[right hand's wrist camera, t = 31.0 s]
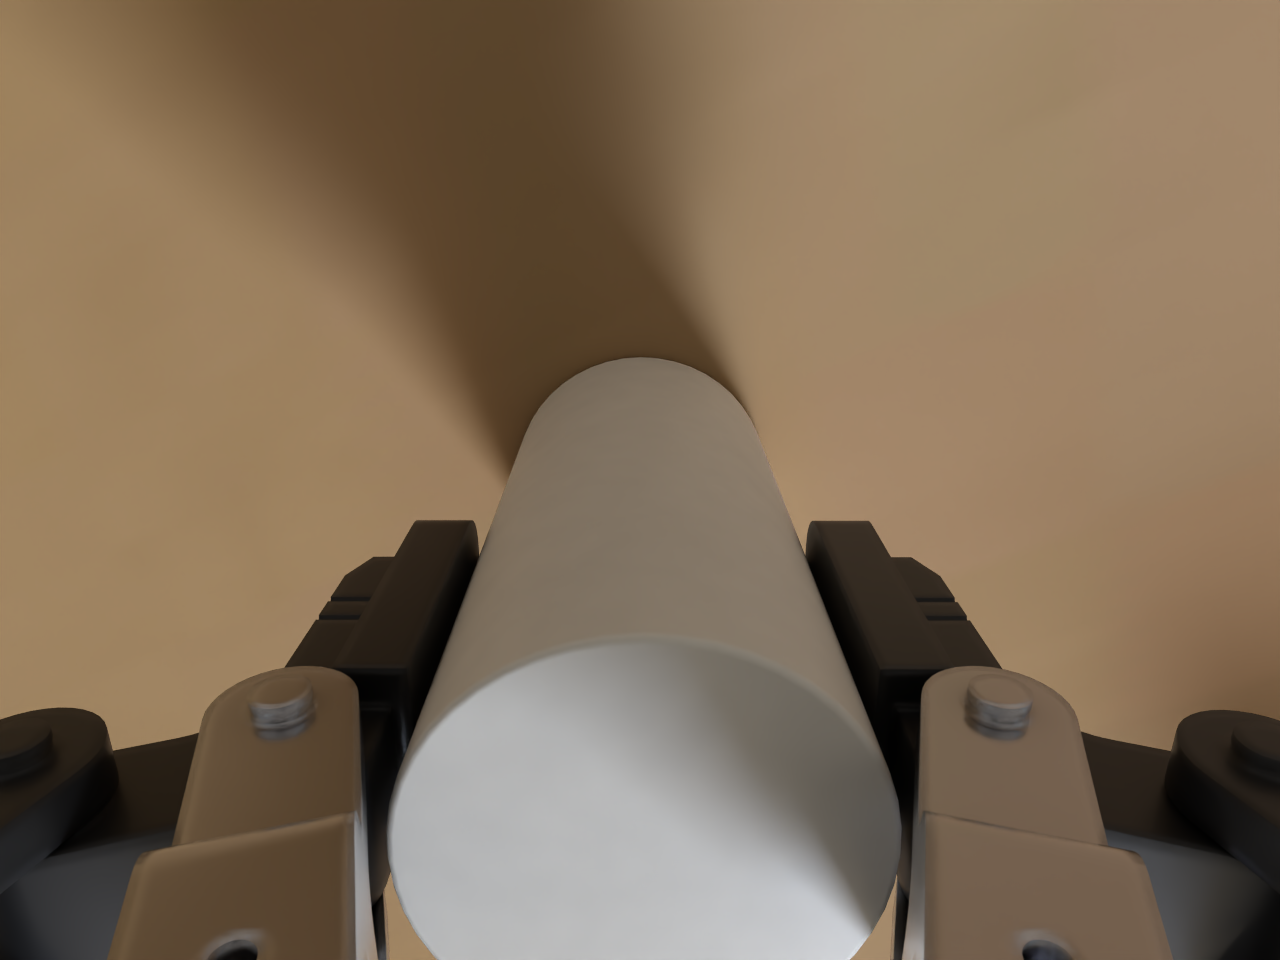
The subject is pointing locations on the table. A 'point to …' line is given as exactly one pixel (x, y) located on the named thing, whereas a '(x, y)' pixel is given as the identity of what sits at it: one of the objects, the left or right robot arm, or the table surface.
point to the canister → (643, 708)
